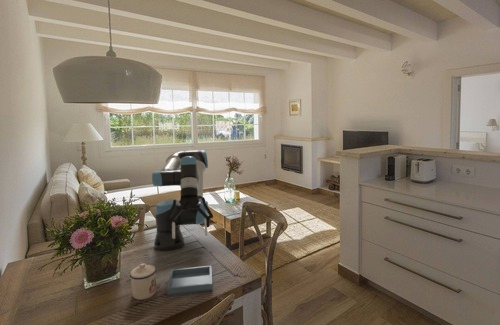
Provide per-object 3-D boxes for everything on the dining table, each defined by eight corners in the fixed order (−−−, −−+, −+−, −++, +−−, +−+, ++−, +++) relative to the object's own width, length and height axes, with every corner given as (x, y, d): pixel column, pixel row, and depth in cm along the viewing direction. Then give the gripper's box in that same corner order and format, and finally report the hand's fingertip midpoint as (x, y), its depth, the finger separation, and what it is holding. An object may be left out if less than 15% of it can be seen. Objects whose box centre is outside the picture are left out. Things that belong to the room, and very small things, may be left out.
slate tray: (171, 276, 115) (171, 269, 115) (211, 271, 118) (211, 265, 118) (167, 296, 102) (166, 288, 102) (212, 290, 105) (212, 283, 104)
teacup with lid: (155, 299, 101) (152, 269, 99) (128, 301, 100) (125, 271, 98) (160, 280, 113) (158, 253, 111) (137, 282, 111) (134, 255, 110)
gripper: (158, 188, 121) (157, 238, 112) (216, 184, 123) (219, 232, 115) (162, 193, 128) (161, 240, 119) (216, 189, 130) (219, 235, 122)
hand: (190, 236), depth 117 cm, fingers open, 13 cm apart
